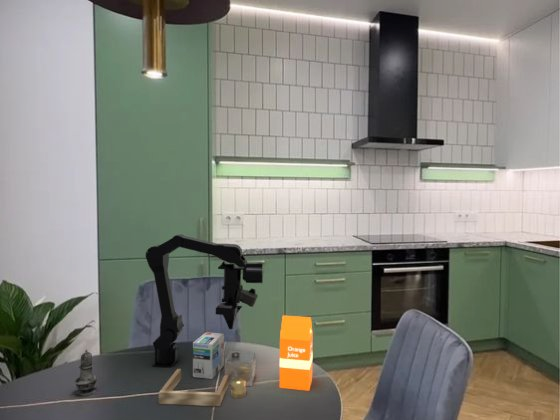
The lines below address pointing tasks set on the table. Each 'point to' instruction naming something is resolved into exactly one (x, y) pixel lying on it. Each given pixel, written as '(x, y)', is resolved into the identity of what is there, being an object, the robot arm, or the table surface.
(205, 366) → the light bulb box
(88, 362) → the grey chess piece
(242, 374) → the grey cube with knob
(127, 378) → the table surface
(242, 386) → the olive rounded piece
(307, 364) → the orange juice
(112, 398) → the table surface
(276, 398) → the table surface
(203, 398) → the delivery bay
